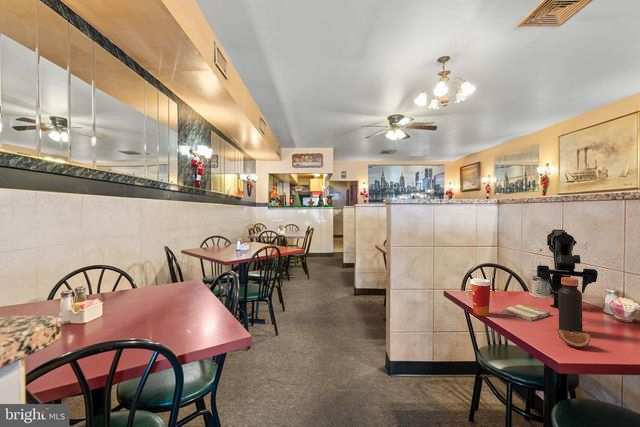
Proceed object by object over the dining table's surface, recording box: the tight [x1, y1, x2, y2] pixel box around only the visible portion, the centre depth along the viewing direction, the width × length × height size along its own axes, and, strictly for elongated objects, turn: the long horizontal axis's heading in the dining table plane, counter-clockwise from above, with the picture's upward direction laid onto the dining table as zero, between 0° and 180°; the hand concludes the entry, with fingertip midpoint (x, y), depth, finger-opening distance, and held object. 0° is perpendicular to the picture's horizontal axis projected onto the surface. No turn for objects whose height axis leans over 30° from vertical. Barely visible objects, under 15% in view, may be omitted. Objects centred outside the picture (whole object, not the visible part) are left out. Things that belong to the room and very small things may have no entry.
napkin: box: [501, 303, 551, 322], centre depth 128 cm, size 14×12×2 cm
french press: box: [529, 248, 553, 299], centre depth 155 cm, size 10×12×25 cm
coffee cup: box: [469, 277, 492, 317], centre depth 129 cm, size 8×8×15 cm
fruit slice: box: [556, 328, 591, 349], centre depth 98 cm, size 8×7×5 cm
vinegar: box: [558, 276, 584, 333], centre depth 108 cm, size 7×7×20 cm
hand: (567, 291), depth 114 cm, fingers open, 9 cm apart
